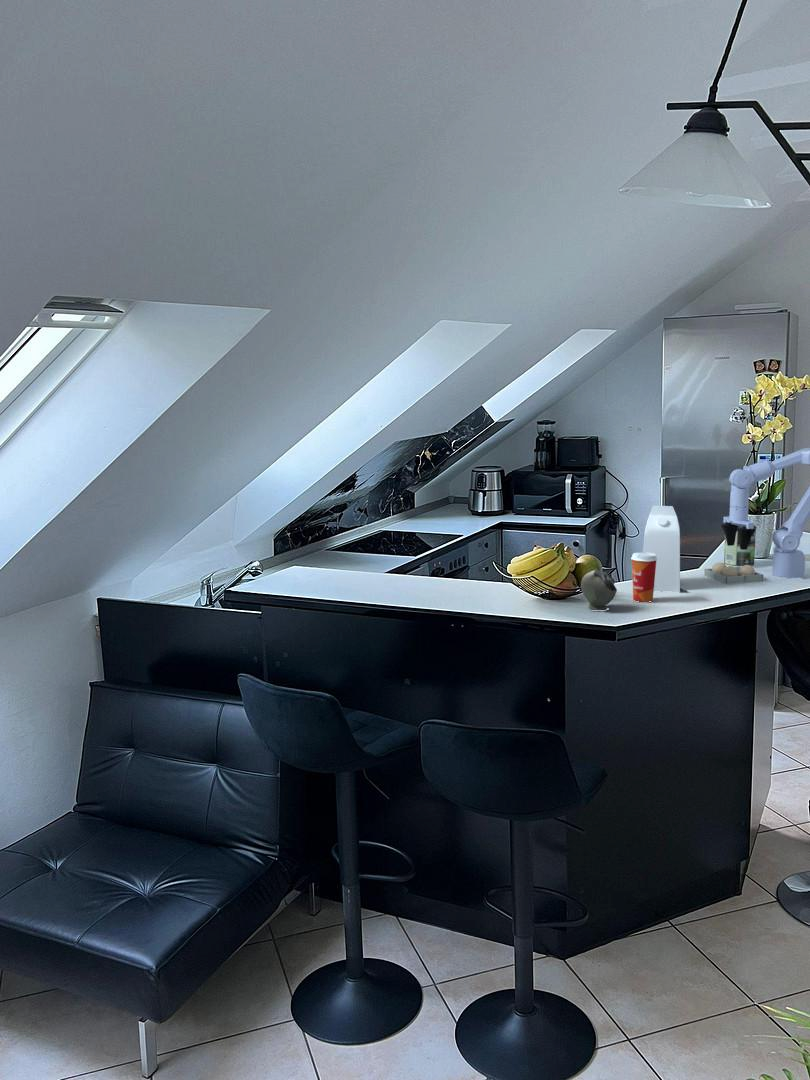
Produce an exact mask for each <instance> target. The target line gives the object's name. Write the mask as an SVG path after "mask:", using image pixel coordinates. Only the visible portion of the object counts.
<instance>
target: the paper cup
mask: <svg viewBox="0 0 810 1080" xmlns="http://www.w3.org/2000/svg"><path fill="white" fill-rule="evenodd" d="M630 559H631V569H632V570H631V571H632V572H631V573H632V575H631V576H632V578H631V579H632V598H633V601H634V600H635V601H639V602H638V603H640V602H649V601H652V602H653V600H654V593H655V592H654V582H655V571H656V560H658V559H657V557H656V554H653V553H643V552H633V553H632V556H631V558H630ZM635 601H634V602H635ZM649 603H650V602H649Z"/></svg>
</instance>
